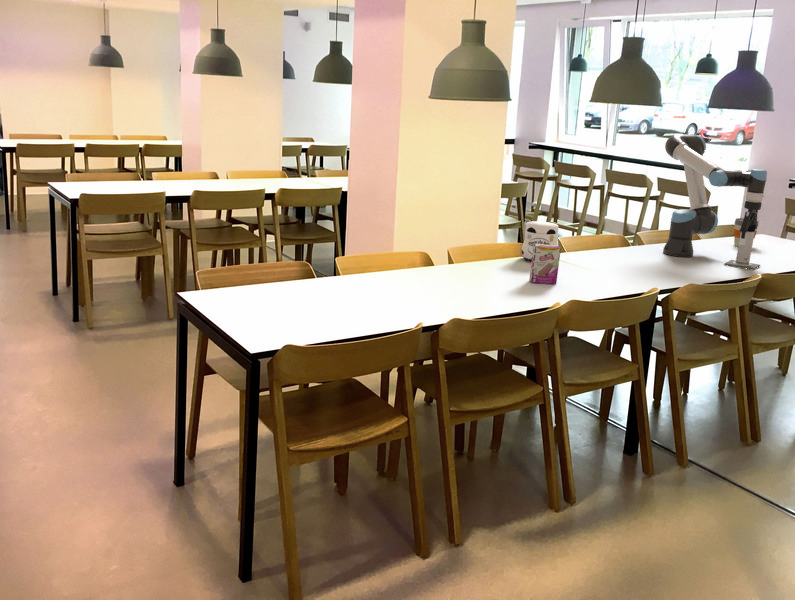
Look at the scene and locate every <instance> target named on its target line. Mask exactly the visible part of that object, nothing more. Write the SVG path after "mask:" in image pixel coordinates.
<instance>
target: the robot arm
mask: <svg viewBox="0 0 795 600" xmlns="http://www.w3.org/2000/svg"><path fill="white" fill-rule="evenodd" d="M664 145H665V146H664V148H665V151H666V153H667V155H668V156H670V157H671V158H673V159H674V160H676V161H678V160H679V162H680V163H681V164H682V165H683V168H684V175H685V180H686V181H685V182H686V187H687V188H686V189H687V194H688V200H689V206H690V208H689V209H687V208H686V209H683V208H682V209H681V208H680V209H676V210H674V211H673V212H672V214H671V218H670V227H669V233H668V239H667V241H666V243H665V245H664V247H663V251H662V253H663V254H665V255H667V254H668V255H669V256H672V255H673V256H672V257H679V258H690V257H691V258H692V257H693V256H694V248H693V247H694V246H693V236H694V235H706V234H711V233H713V232H714V231H715V230H716V228H717V227H718V224H719V218H718V215H717V214H716V213H715V212H714V211H712V209H713V208H712V206H710V205H709V204H708V198H707V193H706V192H707V191H706V186H705V180H704V178H706V179H708V181H709V184H710V185H711V186H713V187H718V188H719V187H741V188H747V190H746V195H745V200H744V201H745V202H744V209H746V210H747V211H745V214H744V217H743V218H744V220H743V223H742V226H741V229H740V232H741V236H740V241H739V245H745V243H746V237H747V230H748V227H749V225H757V221H758V213H759V211H760V210H761V208H762V201H763V198H765V195H764V194H765V193H764V192H765V186H766V184H767V181H768V180H767V176H768V171H767V170H766V169H760V168H752V169H750V171H744V170H738V169H733V170H724V169H723V168H721V167H720V166H719V165H717V164H715V163H714V162H713V161H711V160H709V159H707V158H706V157H705V156H703V155H704V154H705V152H706V149H707V145H706V141H705V139H704V137H702V136H701V135H698V134H692V133H691V134H679V133H675V134H673V135H671V136H670V137H668V139H667V140H666V141H665V144H664ZM755 229H757V230H758V227H755Z"/></svg>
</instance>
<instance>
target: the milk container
mask: <svg viewBox="0 0 795 600" xmlns="http://www.w3.org/2000/svg"><path fill="white" fill-rule="evenodd" d="M558 236H559V225H558V224H557V223H554V222H549V221H539V220H538V221H537V220H534V221H533V220H532V221H527V222H526V224H525V231H524V241H523V244H522V247H521V256H522V258H523V259H524V260H527V261H530V262H531V261H532V252H533V244H544V245H558Z"/></svg>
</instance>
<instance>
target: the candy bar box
mask: <svg viewBox="0 0 795 600" xmlns="http://www.w3.org/2000/svg"><path fill="white" fill-rule="evenodd" d="M561 250H562V249H561V246H560V245H558V244H557V245H544V244H533V252H532V261H530V262H531V264H530V271H529V278H528V280H529V282H530V283H531V284H544V285H546V284H547V285H557V282H558V281H557V280H558V274H559V273H558V272H559V266H560V265H559V264H560V257H561Z"/></svg>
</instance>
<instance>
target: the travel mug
mask: <svg viewBox="0 0 795 600" xmlns="http://www.w3.org/2000/svg"><path fill="white" fill-rule="evenodd" d="M755 227H757V225H749V227H748V230H747V237H746V243H745V245H739V246H737V252H736V258H735V260H736V263H738V264H742V265H748V264H749V263H750V261H751V255H752V249H753V244H754V240H755V238H754V234H755ZM757 228H758V227H757ZM740 236H741V235H740ZM739 241H740V240H739Z"/></svg>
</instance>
